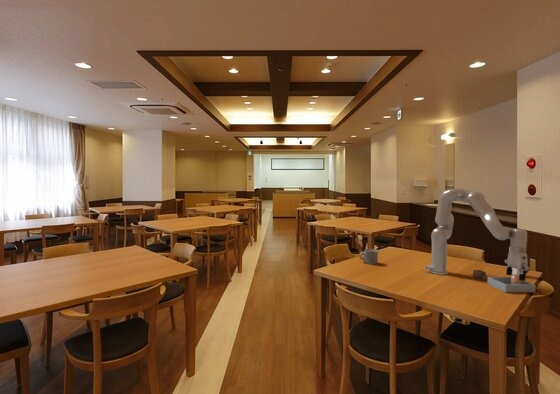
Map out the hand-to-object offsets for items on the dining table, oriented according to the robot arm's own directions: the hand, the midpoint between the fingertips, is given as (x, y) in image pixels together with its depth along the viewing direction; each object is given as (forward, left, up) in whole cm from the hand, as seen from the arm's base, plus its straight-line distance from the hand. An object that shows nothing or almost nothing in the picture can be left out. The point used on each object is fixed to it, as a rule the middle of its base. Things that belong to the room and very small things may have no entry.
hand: (515, 277), depth 180 cm
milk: (+20, +25, -7) cm, 33 cm away
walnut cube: (-10, +18, -7) cm, 21 cm away
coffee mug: (-72, +55, -7) cm, 90 cm away
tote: (-3, 0, -6) cm, 7 cm away
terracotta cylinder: (0, 0, -6) cm, 6 cm away
